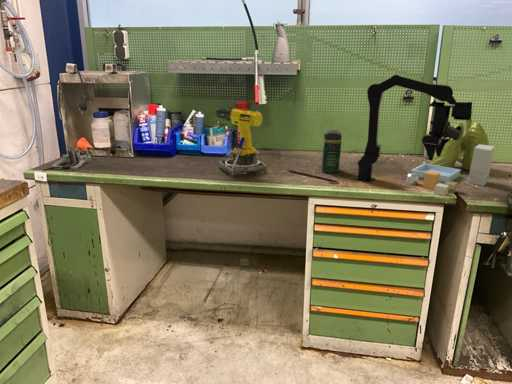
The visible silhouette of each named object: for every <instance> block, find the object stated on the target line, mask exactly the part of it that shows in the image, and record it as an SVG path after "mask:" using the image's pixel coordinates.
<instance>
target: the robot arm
mask: <svg viewBox="0 0 512 384" xmlns="http://www.w3.org/2000/svg"><path fill="white" fill-rule="evenodd" d="M396 86H398V87H401V88H405V89H407V90H412V91H416V92H420V93H423V94H426V95H429V96H430V97H432V98H434V99H433V101H432V102H430V103H429V107H433V113H432V114H433V115H432V120H431V121H430V123H429V124H430V125H431V128H430V131H428V133H427V134H425V135H423V136H422V137H421V143H422V145H423V147H424V149H425V151H426V154H427V157H428V160H429V161H430V160H431V161H432V160H433V157H434V154H435V151H436V154H437V156H440V155H441V153H442V151H443V148H444V146H445V144H446V143H447V142H448V141H450V140H451V138H452V139H453V140H455V141H457V140H459V139H460V137H461V136H462V135H463V136H464V133H465V130H464V131H462V127H461V126H457V127H456V128H455V127H454V126H451V121H450V119H449V118H450V117H452V118H453V120H457V121H465V120H470V119H472V113H473V111H472V110H473V102H472V101H457V99H456V98H455V97H454V96H453V94H454V90H453V89H452V87H451V86H450V85H447V84H439V83H428V82H424V81H421V80H417V79H414V78H410V77H406V76H403V75H400V74H393V75H392V76H391V77H390V78H387V79H385V80H384V81H382V82H381V83H380V82H379V83H378V82H377V83H372V84H371V85H369V86H368V88H367V90H366V92H367V101H368V104H369V112H368V113H369V115H368V117H369V118H368V132H367V142H366V146H365V150H364V154H363V155H362V157H360V159H359V160H357V164H358V169H357V171H358V173H357V176H356V177H354V180H356V181H361V182H366V183H367V182H368V183H369V182H372V181H373V180H375V177H373V167H374V166H373V164H375V163H376V162H377V161H378V159H379V158H380V157H381V155H382V147H383V146H382V145H383V144H379V142H378V141H379V123H380V110H381V109H380V108H381V103H382V100H383V97H384V92H386V91H388V90H389V89H392V88H393V87H396ZM437 100H438V101H437ZM439 101H440V102H439ZM445 103H448V104H445ZM450 112H451V114H450ZM448 137H449V139H447V138H448Z"/></svg>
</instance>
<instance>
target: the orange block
mask: <svg viewBox="0 0 512 384" xmlns="http://www.w3.org/2000/svg"><path fill="white" fill-rule="evenodd" d="M439 177H440V173H438V172H432V171H428V172H426V173H425V175H424V179H423V183H422V188H424V189H429V190H434V189H435V185H437V184H438V183H440V182H439Z"/></svg>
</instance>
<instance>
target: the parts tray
mask: <svg viewBox="0 0 512 384" xmlns="http://www.w3.org/2000/svg"><path fill="white" fill-rule="evenodd" d="M461 170H462V169H460V168H455V167H454V168H449V167H443V166H437V165H432V164H431V163H425V162H424V163H422V164H421V165H418V166H417V167H414V168H413V169H411V170H410V173H416V174H419V178H418V179H422V180H424V175H425V173H426V172H428V171H432V172H438V173H440V177H439V183H441V184H444V183H445V182H446V181H451V182H454V181H455V180H456V179H457V178H459V177H461Z"/></svg>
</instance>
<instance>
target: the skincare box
mask: <svg viewBox="0 0 512 384" xmlns="http://www.w3.org/2000/svg"><path fill="white" fill-rule="evenodd" d="M495 149H496V146H495V145H490V144H489V145H481V144H479V145H478V146H476V147H475V148H474V154H473V159H472V164H471V169H470V170H469V174H468V178H467V179H468V180H467V184H470V185H475V186H481V187H485V186H486V184H488V182H489V177H490V172H491V168H492V163H493V159H494V154H495Z"/></svg>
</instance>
